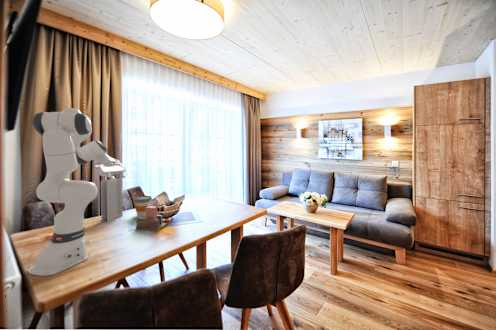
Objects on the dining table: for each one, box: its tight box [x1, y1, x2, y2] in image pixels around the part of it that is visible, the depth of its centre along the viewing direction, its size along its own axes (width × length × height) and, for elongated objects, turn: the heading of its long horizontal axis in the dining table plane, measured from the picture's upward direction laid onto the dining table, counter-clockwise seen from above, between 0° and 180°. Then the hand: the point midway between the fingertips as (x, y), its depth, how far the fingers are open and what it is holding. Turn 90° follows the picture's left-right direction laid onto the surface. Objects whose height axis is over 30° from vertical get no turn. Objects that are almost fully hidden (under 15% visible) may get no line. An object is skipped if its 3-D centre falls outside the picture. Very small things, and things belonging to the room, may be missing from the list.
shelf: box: [135, 217, 168, 233], centre depth 150 cm, size 12×16×8 cm
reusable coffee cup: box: [134, 195, 153, 218], centre depth 174 cm, size 13×13×15 cm
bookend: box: [157, 214, 163, 224], centre depth 154 cm, size 1×10×6 cm, turn 80°
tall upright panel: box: [100, 178, 124, 223], centre depth 165 cm, size 14×6×30 cm, turn 168°
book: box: [145, 205, 158, 219], centre depth 150 cm, size 4×6×13 cm, turn 81°
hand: (119, 178), depth 147 cm, fingers open, 8 cm apart
